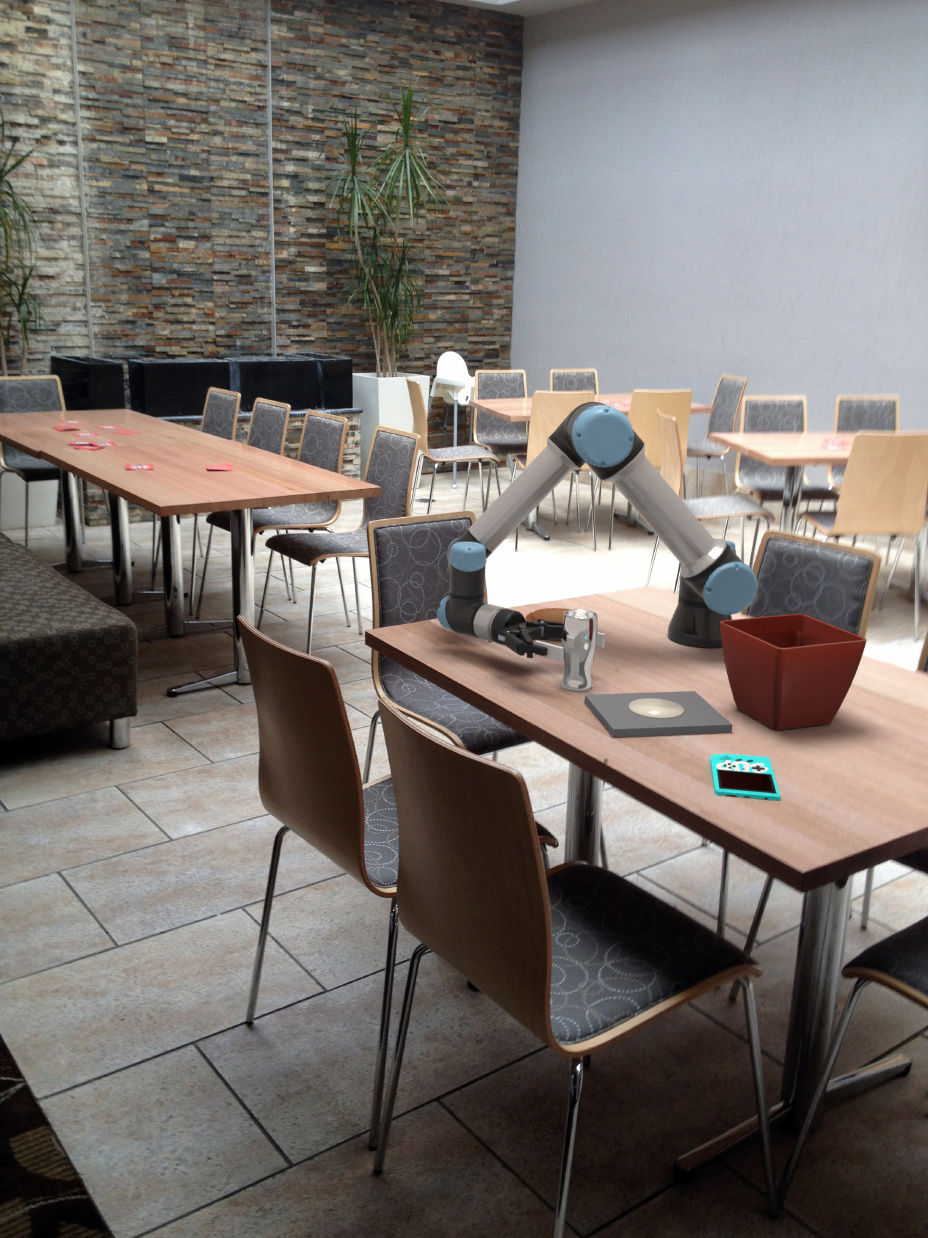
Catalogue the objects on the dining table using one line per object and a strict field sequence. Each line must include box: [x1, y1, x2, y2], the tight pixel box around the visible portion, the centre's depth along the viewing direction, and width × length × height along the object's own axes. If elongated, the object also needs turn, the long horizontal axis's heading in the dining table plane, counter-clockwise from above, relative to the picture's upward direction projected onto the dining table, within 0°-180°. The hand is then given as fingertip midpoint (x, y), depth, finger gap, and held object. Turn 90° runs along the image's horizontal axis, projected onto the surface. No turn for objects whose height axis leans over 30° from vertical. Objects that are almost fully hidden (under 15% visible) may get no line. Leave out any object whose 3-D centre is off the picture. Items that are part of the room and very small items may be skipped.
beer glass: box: [560, 608, 599, 692], centre depth 215 cm, size 7×7×15 cm
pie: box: [524, 607, 572, 641], centre depth 252 cm, size 16×16×5 cm
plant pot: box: [720, 613, 868, 731], centre depth 202 cm, size 19×19×17 cm
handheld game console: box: [709, 753, 781, 801], centre depth 176 cm, size 10×16×1 cm, turn 171°
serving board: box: [583, 690, 733, 738], centre depth 201 cm, size 22×18×2 cm
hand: (583, 647), depth 214 cm, fingers open, 13 cm apart
